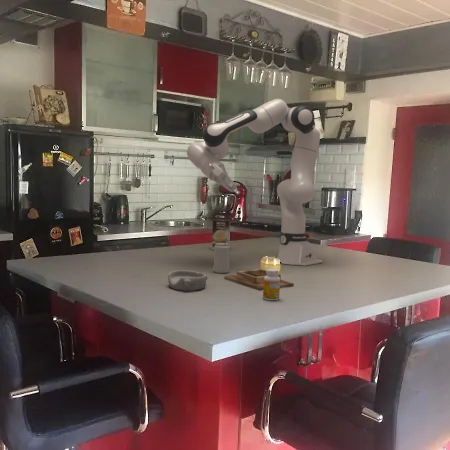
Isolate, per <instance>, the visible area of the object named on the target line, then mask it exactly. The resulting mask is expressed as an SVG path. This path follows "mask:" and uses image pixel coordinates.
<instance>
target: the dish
mask: <svg viewBox="0 0 450 450" xmlns="http://www.w3.org/2000/svg"><path fill="white" fill-rule="evenodd" d="M167 278H168V281H167V282H168V286H169V287H170V288H172V289H174V290H178V291H184V292H185V291H187V292H191V291H192V292H193V291H200V290H202V289H205V287H206V284H207V280H208V276H207V274H205V273H204V272H198V271H196V270H185V269H184V270H183V269H181V270H179V269H178V270H173V271H170V272H169V273H168V274H167Z"/></svg>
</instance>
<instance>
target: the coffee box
mask: <svg viewBox="0 0 450 450" xmlns="http://www.w3.org/2000/svg"><path fill="white" fill-rule="evenodd" d="M230 232H231V220H230V219H218V218H214V219H212V233H211V234H212V235H211V251H214V246H215V245H216V244H215V243H228V244H229V245H230V238H231V233H230Z"/></svg>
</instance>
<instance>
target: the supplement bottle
mask: <svg viewBox="0 0 450 450" xmlns="http://www.w3.org/2000/svg"><path fill="white" fill-rule="evenodd" d="M265 270H266V274H267V275H266V276H265V277H264V284H263V290H262V298H263V300H266V301H270V300H275V301H279V300H280V290H281V288H280V277H278V276H277V275H278V274H279V269H276V268H267V269H265Z"/></svg>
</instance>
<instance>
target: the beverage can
mask: <svg viewBox="0 0 450 450" xmlns="http://www.w3.org/2000/svg"><path fill="white" fill-rule="evenodd" d="M215 244H216V245H215V246H214V250H213V271H214V272H215V273H216V274H228V272H230V261H231V260H230V259H231V258H230V256H231V255H230V254H231V253H230V252H231V246H230V243H229V244H228V243H215Z"/></svg>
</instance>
